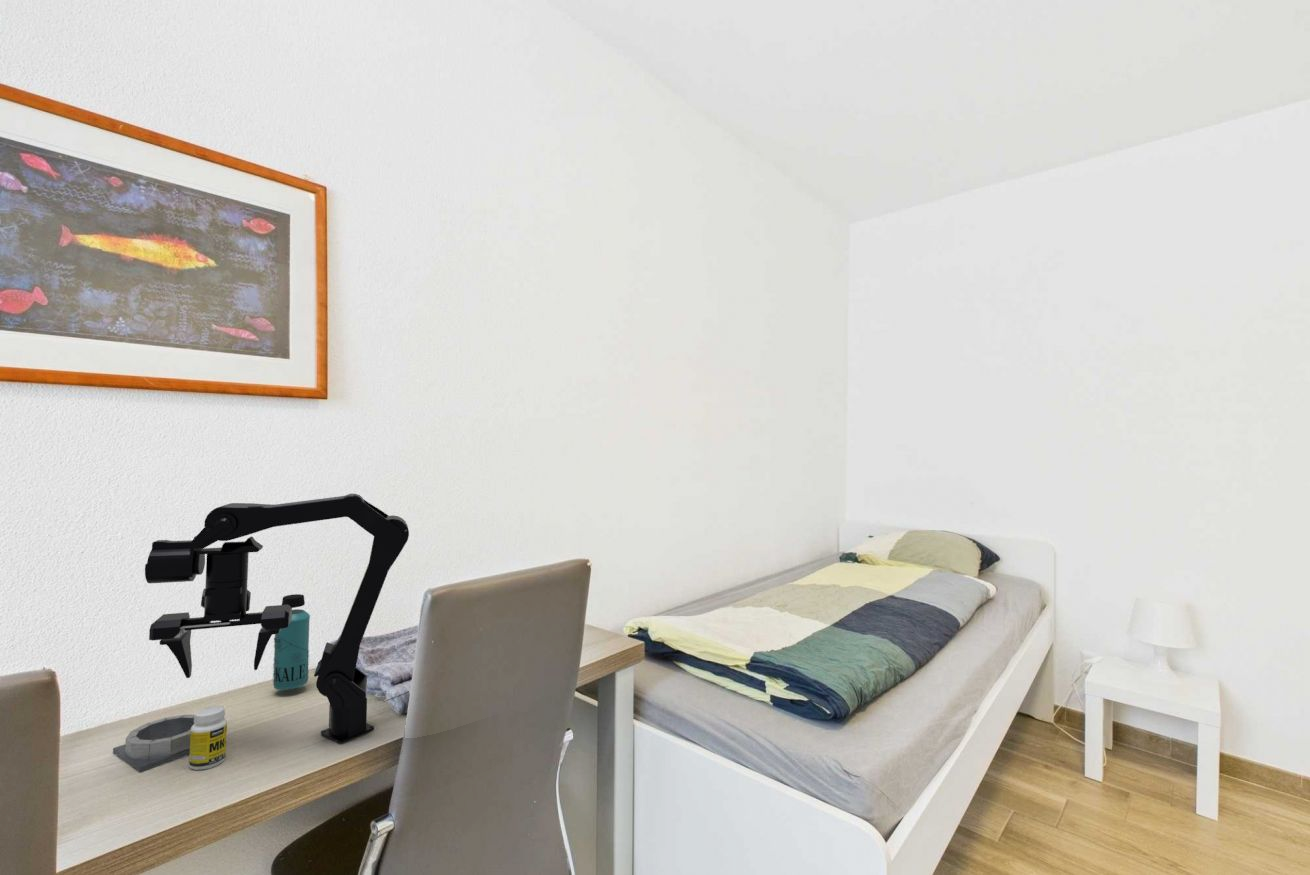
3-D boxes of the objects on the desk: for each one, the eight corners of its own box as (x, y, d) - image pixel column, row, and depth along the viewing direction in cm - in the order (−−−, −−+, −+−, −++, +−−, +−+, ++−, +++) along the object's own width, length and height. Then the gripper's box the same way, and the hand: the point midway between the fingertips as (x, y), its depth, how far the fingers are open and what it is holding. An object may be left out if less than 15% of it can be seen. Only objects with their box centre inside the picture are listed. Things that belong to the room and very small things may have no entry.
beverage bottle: (294, 683, 128) (296, 590, 129) (316, 688, 126) (318, 593, 126) (264, 694, 122) (267, 597, 123) (286, 700, 120) (289, 600, 120)
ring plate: (220, 743, 102) (220, 723, 102) (139, 772, 93) (140, 751, 93) (191, 727, 108) (192, 708, 108) (113, 753, 98) (113, 732, 99)
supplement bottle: (211, 771, 93) (212, 717, 94) (181, 770, 93) (183, 716, 94) (233, 755, 98) (234, 704, 98) (204, 755, 98) (206, 703, 98)
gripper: (296, 566, 111) (293, 651, 110) (171, 573, 103) (167, 664, 102) (289, 579, 101) (286, 671, 100) (150, 587, 93) (145, 688, 92)
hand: (223, 673), depth 99 cm, fingers open, 9 cm apart
